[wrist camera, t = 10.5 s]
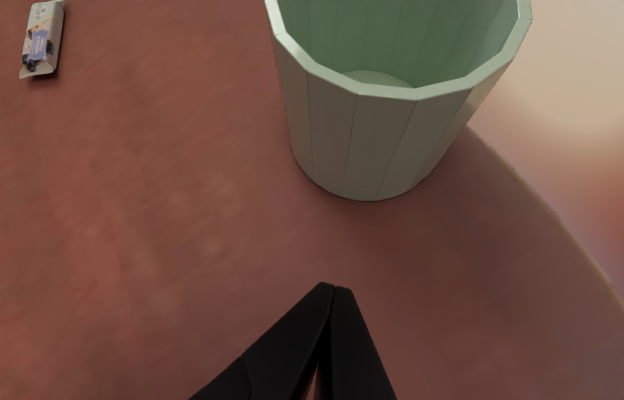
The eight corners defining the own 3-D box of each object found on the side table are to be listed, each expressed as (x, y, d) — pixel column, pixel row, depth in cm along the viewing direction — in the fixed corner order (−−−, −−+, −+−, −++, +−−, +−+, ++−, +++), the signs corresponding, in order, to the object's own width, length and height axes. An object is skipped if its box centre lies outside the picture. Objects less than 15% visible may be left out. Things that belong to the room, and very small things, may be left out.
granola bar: (30, -6, 23) (69, -11, 23) (44, 8, 24) (82, 4, 24) (-4, 72, 21) (41, 68, 21) (14, 85, 22) (56, 81, 22)
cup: (399, 230, 18) (470, 147, 9) (260, 155, 19) (213, 27, 11) (464, 107, 20) (566, -47, 12) (335, 50, 22) (344, -119, 14)
